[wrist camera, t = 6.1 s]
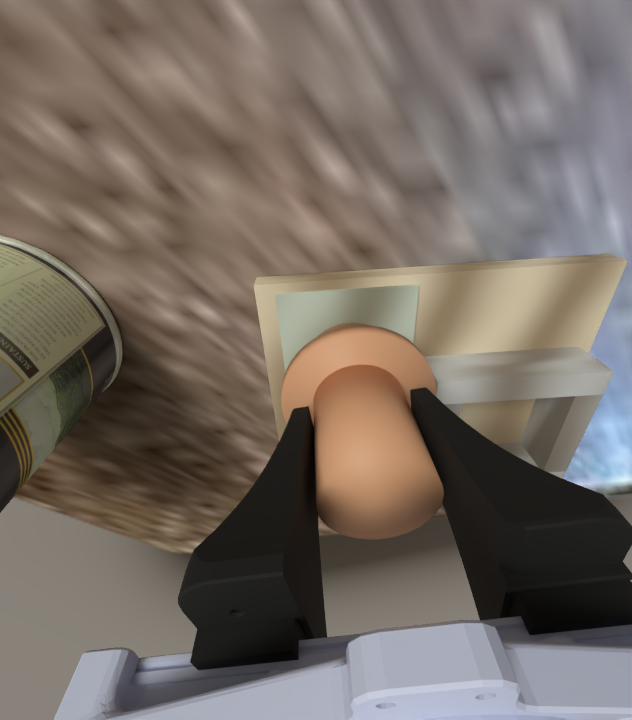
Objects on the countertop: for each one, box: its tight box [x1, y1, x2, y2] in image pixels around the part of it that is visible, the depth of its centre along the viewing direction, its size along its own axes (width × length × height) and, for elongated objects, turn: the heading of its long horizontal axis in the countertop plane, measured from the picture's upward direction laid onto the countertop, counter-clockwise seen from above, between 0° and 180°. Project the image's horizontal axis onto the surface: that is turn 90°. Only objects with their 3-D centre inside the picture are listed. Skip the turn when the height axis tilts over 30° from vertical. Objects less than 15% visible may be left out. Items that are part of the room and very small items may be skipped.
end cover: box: [281, 323, 444, 539], centre depth 14 cm, size 7×7×8 cm
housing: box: [254, 254, 628, 478], centre depth 19 cm, size 18×14×4 cm
